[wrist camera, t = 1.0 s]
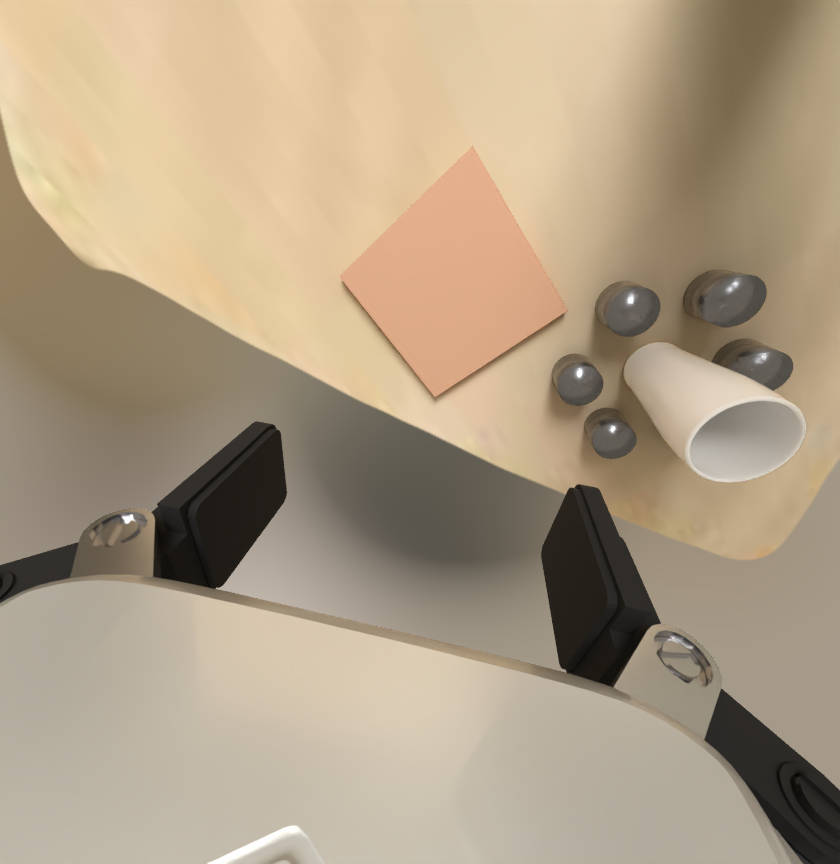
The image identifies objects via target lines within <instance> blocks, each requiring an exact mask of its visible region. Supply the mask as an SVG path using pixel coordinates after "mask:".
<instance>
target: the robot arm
mask: <svg viewBox="0 0 840 864" xmlns="http://www.w3.org/2000/svg"><path fill="white" fill-rule="evenodd" d="M286 494H287V491H286V480H285V471H284V461H283V451H282V441H281V433H280V431H279V430H276V427H275V426H274V425H273V424H268V423H263V422H254V423H252V424H251V425H250V426H249V427H248V428H247V429H245V430H244V431H243V432H242V433H241V434H239V435H238V436H237V437H236V438H235V439H233V440H232V441H231V442H230V443H229V444H228V445H226V446H225V447H224V448H223V449H222V450H220V451H219V452H218V453H217V454H216V455H214V456H213V457H212V458H211V459H210V460H209V461H208V462H206V463H205V464H204V465H203V466H201V467H200V468H199V469H198V470H197V471H196V472H195V473H193V474H192V475H191V476H190V477H188V478H187V479H186V480H185V481H184V482H182V483H181V484H180V485H179V486H178V487H177V488H175V489H174V490H173V491H172V492H171V493H169V494H168V495H167V496H166V497H165V498H164V499H162V500H161V501H160V502H159V503H158V504H157V505H158V507H157V508H156V509H155V510H154V511H152V512H150V511H149V510H146V509H142V508H128V509H122V510H118V511H115V512H112V513H109V514H107V515H105V516H102V517H100V518H99V519H97V520H96V521H94V522H93V523H91V524H90V525H89V526H88V527H87V528H86V529H85V530H84V531H83V533H82V535H81V537H80V539H79V542H78V543H74V544H71V545H67V546H65V547H61V548H57V549H54V550H50V551H47V552H44V553H41V554H37V555H34V556H30V557H27V558H23V559H20V560H17V561H13V562H10V563H6V564H3V565H0V864H840V790H839V789H838V788H837V787H835V785H834V784H832V783H831V782H830V781H829V780H828V779H827V778H826V777H825V776H824V775H823V774H822V773H821V772H819V771H818V770H817V769H816V768H815V767H814V766H812V765H811V764H810V763H808V761H806V760H805V759H804V758H803V757H802V756H801V755H799V754H798V753H797V752H796V751H795V750H793V749H792V748H791V747H790V746H789V745H787V744H786V743H785V742H784V741H783V740H782V739H780V738H779V737H778V736H777V735H776V734H774V733H773V732H772V731H771V730H770V729H769V728H767V727H766V726H765V725H764V724H763V723H762V722H760V721H759V720H758V719H757V718H755V717H754V716H753V715H752V714H751V713H750V712H749V711H747V710H746V709H745V708H744V707H743V706H741V705H740V704H739V703H738V702H737V701H735V700H734V699H733V698H732V697H731V696H730V695H728V694H727V693H726V692H725V691H723V689H721V685H722V677H721V674H720V670H719V667H718V666H717V664H716V662H715V661H714V659H713V657H712V656H711V655H710V654H709V652H708V651H707V650H706V649H705V648H704V647H703V645H701V644H700V643H699V642H698V641H697V640H696V639H694V638H693V637H692V636H690V635H689V634H687V633H686V632H684V631H682V630H681V629H678V628H676V627H673V626H671V625H666V624H661V623H660V620H659V618H658V616H657V613H656V611H655V609H654V607H653V604H652V602H651V600H650V598H649V595H648V593H647V591H646V589H645V586H644V584H643V582H642V580H641V578H640V575H639V573H638V571H637V568H636V566H635V564H634V561H633V559H632V557H631V555H630V552H629V550H628V548H627V546H626V543H625V542H624V540H623V539H622V538H621V537H620V536H619V534H618V532H617V529H616V527H615V525H614V522H613V520H612V518H611V515H610V513H609V511H608V508H607V506H606V504H605V501H604V499H603V497H602V494H601V492H600V490H599V489H598V488H595V487H590V486H585V485H580V484H579V485H577V486H575V488H569V490H568V491H567V494H566V496H565V498H564V500H563V503H562V505H561V507H560V509H559V511H558V513H557V516H556V518H555V520H554V522H553V524H552V527H551V529H550V531H549V534H548V536H547V538H546V540H545V542H544V544H543V547H542V552H541V557H542V564H543V570H544V575H545V582H546V587H547V593H548V599H549V605H550V611H551V617H552V623H553V629H554V635H555V640H556V647H557V653H558V659H559V664H560V666H561V668H562V669H565V670H566V671H567V673H565V672H561V671H556V670H553V669H549V668H545V667H541V666H538V665H534V664H530V663H526V662H522V661H518V660H514V659H511V658H506V657H502V656H498V655H494V654H490V653H486V652H482V651H477V650H473V649H469V648H465V647H461V646H457V645H453V644H448V643H444V642H440V641H436V640H432V639H428V638H423V637H420V636H415V635H411V634H407V633H403V632H398V631H394V630H390V629H386V628H382V627H377V626H373V625H369V624H364V623H360V622H356V621H352V620H348V619H343V618H339V617H334V616H330V615H326V614H322V613H317V612H314V611H309V610H304V609H300V608H296V607H291V606H287V605H283V604H279V603H274V602H270V601H266V600H261V599H257V598H253V597H248V596H244V595H239V594H235V593H231V592H226V591H222V590H217V589H216V587H217V588H219V587H221V586H223V584H224V583H225V582H226V581H227V579H228V578H229V576H230V575H231V574H232V573H233V571H234V570H235V568H236V567H237V566H238V564H239V563H240V561H241V560H242V559H243V558H244V556H245V555H246V553H247V552H248V551H249V549H250V548H251V547H252V545H253V544H254V542H255V541H256V540H257V538H258V537H259V536H260V534H261V533H262V531H263V530H264V529H265V527H266V526H267V525H268V523H269V522H270V521H271V519H272V518H273V517H274V515H275V514H276V512H277V511H278V510H279V508H280V507H281V505H282V504H283V503H284V501H285V498H286Z"/></svg>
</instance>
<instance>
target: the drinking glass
mask: <svg viewBox="0 0 840 864" xmlns="http://www.w3.org/2000/svg"><path fill="white" fill-rule="evenodd" d="M623 373H624V379H625V382H626V384H627V385H628V386H629V387H630V389H631V390H632V391H633V392H634V394H635V395H636V397H637V398H638V400H639V401H640V403H641V404H642V406H643V408H644V409H645V411H646V412H647V414H648V416H649V417H650V419H651V420H652V422H653V424H654V425H655V427H656V428H657V430H658V431H659V433H660V435H661V436H662V437H663V439H664V440H665V441H666V443H667V444H668V445H669V446H670V448H671V449H672V450H673V451H674V452H675V453H676V455H677V456H678V457H679V458H680V459H681V460H682V461H683V462H684V463H685V464H686V465H687V466H688V467H689V468H690V469H691V470H692V471H693V472H694V473H695V474H697V475H698V476H700V477H702V478H704V479H707V480H710V481H714V482H722V483H735V482H743V481H748V480H752V479H755V478H758V477H761V476H764V475H766V474H768V473H770V472H772V471H774V470H776V469H777V468H779V467H780V466H782V465H783V464H785V463H786V462H787V461H788V460H789V459H791V458H792V457H793V455H794V454H795V453H796V452H797V451H798V450H799V448H800V447H801V445H802V443H803V441H804V438H805V435H806V429H807V425H806V420H805V417H804V415H803V413H802V412H801V410H800V409H799V408H798V407H797V406H796V405H794V404H793V403H791V402H789V401H788V400H786V399H785V398H783V397H782V396H780V395H779V394H777V393H776V392H774V391H773V390H771V389H769V388H768V387H766V386H764V385H762V384H761V383H759V382H757V381H755V380H753V379H751V378H749V377H747V376H745V375H742V374H740V373H738V372H735V371H733V370H730V369H728V368H725V367H723V366H720V365H718V364H715V363H713V362H710V361H708V360H706V359H703V358H701V357H698V356H696V355H693V354H691V353H689V352H686V351H684V350H682V349H680V348H678V347H677V346H675V345H673V344H670V343H666V342H654V343H650V344H647V345H644V346H642V347H640V348H639V349H637V350H636V351H635V352H634V353H633V354H632V355H631V356H630V357H629V358H628V360H627V362H626V364H625V366H624V372H623Z"/></svg>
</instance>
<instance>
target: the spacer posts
mask: <svg viewBox="0 0 840 864" xmlns="http://www.w3.org/2000/svg"><path fill="white" fill-rule="evenodd" d="M765 298H766V286H765V284H764V282H763V281H762V280H761V279H760V278H758V277H756V276H752V275H746V274H741V273H735V272H729V271H723V270H713V271H709V272H706V273H704V274H702V275H700V276H699V277H697V278H696V279H695V280H694V281H693V282H692V283H691V284H690V285H689V287H688V288H687V290H686V292H685V295H684V299H683V303H684V307H685V309H686V311H687V312H688V313H689V314H691V315H693V316H695V317H698V318H700V319H703V320H705V321H707V322H710V323H712V324H715V325H717V326H720V327H733V326H737V325H739V324H742V323H744V322H746V321H747V320H749V319H750V318H752V317H753V316H754V315H755V314H756V313H757V312H758V311H759V310H760V308H761V307H762V305H763V303H764V301H765ZM595 310H596V315H597V317H598V319H599V320H600V321H601V322H602V323H603V324H605V325H606V326H607V327H608V328H610V329H611V330H612V331H614V332H615V333H616V334H618V335H621V336H626V337H628V336H635V335H638V334H641V333H643V332H644V331H646V330H647V329H649V328H650V327H651V326H652V325H653V324H654V322H655V321H656V319H657V317H658V315H659V312H660V301H659V298H658V296H657V295H656V294H655V293H654V292H653V291H651V290H649V289H646V288H644V287H641V286H638V285H635V284H633V283H630V282H618V283H615V284H612V285H610V286H609V287H607V288H606V289H605V290H604V291H603V292H602V293H601V294H600V296H599V298H598V300H597V302H596V307H595ZM713 363H715V364H718V365H720V366H723V367H725V368H728V369H730V370H733V371H735V372H738V373H740V374H742V375H745V376H747V377H749V378H751V379H753V380H755V381H757V382H759V383H761V384H762V385H764V386H766V387H768V388H769V389H771V390H773V391H774V390H775V389H777V388H779V387H780V386H781V385H783V384H784V383H785V382H786V381H787V380H788V378H789V377H790V375H791V373H792V370H793V362H792V359H791V358H790V357H789V356H788V355H786V354H784V353H782V352H780V351H777V350H775V349H772V348H770V347H768V346H765V345H763V344H760V343H758V342H755V341H753V340H750V339H740V340H736V341H733V342H730V343H728V344H727V345H725V346H724V347H722V348H721V349H720V350H719V351H718V352H717V354H716V355H715V357H714V359H713ZM552 379H553V381H554V384H555V386H556V388H557V390H558V392H559V395H560V397H561V398H562V399H563V400H564V401H565V402H566V403H568V404H570V405H575V406H580V405H585V404H588V403H590V402H592V401H593V400H595V399H596V398H597V397H598V396H599V394H600V393H601V391H602V388H603V379H602V376H601V375H600V373H599V372H598V371H597V370H596V368H595V367H594V366H593V365H592V363H591V362H590V361H589V360H588V359H587V358H586V357H585V356H583V355H579V354H570V355H567V356H564V357H563V358H561V359H560V360H559V361H558V362H557V363H556V364H555V366H554V367H553V370H552ZM584 428H585V431H586V433H587V435H588V437H589V439H590V441H591V443H592V445H593V447H594V449H595V451H596V452H597V454H599V455H600V456H602V457H604V458H609V459H614V458H620V457H622V456H625V455H626V454H628V453H629V452H630V451H631V450H632V449H633V448H634V446H635V444H636V435H635V433H634V432H633V430H632V429H631V428H630V426H629V425H628V423H627V422H626V421H625V419H624V418H623V417H622V415H621V414H620V413H619V412H618V411H616V410H614V409H611V408H603V409H599V410H596V411H594V412H593V413H591V414H590V415H589V416H588V417H587V419H586V421H585V425H584Z"/></svg>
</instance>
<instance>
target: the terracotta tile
mask: <svg viewBox="0 0 840 864" xmlns="http://www.w3.org/2000/svg"><path fill="white" fill-rule="evenodd" d="M339 277H340V278H341V279H342V281H343V282H344V283H345V285H346V286H347V287H348V288H349V290H350V291H351V292H352V293H353V295H354V296H355V297H356V298H357V300H358V301H359V302H360V303H361V305H362V306H363V307H364V309H365V310H366V311H367V312H368V314H369V315H370V316H371V317H372V319H373V320H374V321H375V322H376V324H377V325H378V326H379V327H380V329H381V330H382V331H383V332H384V334H385V335H386V336H387V338H388V339H389V340H390V341H391V343H392V344H393V345H394V346H395V348H396V349H397V350H398V351H399V353H400V354H401V355H402V356H403V358H404V359H405V360H406V361H407V363H408V364H409V365H410V367H411V368H412V369H413V370H414V372H415V373H416V374H417V375H418V377H419V378H420V379H421V380H422V382H423V383H424V384H425V385H426V387H427V388H428V389H429V391H430V392H431V393H432V394H433V396H434V397H436V396H438V395H439V394H441V393H442V392H444V391H445V390H447V389H448V388H450V387H451V386H453V385H454V384H456V383H458V382H459V381H461V380H462V379H464V378H465V377H467V376H468V375H470V374H471V373H473V372H474V371H476V370H477V369H479V368H481V367H482V366H484V365H485V364H487V363H488V362H490V361H491V360H493V359H494V358H496V357H497V356H499V355H500V354H502V353H504V352H505V351H507V350H508V349H510V348H511V347H513V346H514V345H516V344H517V343H519V342H520V341H522V340H524V339H525V338H527V337H528V336H530V335H531V334H533V333H534V332H536V331H537V330H539V329H540V328H542V327H543V326H545V325H547V324H548V323H550V322H551V321H553V320H554V319H556V318H557V317H559V316H560V315H562V314H563V313H565V312H566V311H568V310H567V309H566V307H565V305H564V303H563V302H562V300H561V298H560V296H559V295H558V293H557V291H556V289H555V288H554V286H553V284H552V283H551V281H550V279H549V277H548V276H547V274H546V272H545V270H544V269H543V267H542V265H541V264H540V262H539V260H538V258H537V257H536V255H535V253H534V251H533V250H532V248H531V246H530V244H529V243H528V241H527V239H526V238H525V236H524V234H523V232H522V231H521V229H520V227H519V225H518V224H517V222H516V220H515V218H514V217H513V215H512V213H511V212H510V210H509V208H508V206H507V205H506V203H505V201H504V199H503V198H502V196H501V194H500V192H499V191H498V189H497V187H496V186H495V184H494V182H493V180H492V179H491V177H490V175H489V173H488V172H487V170H486V168H485V166H484V165H483V163H482V161H481V160H480V158H479V156H478V154H477V153H476V151H475V149H474V147H473V146H472V147H471V148H470V149H469V150H468V151H467V152H466V153H465V154H464V155H463V156H462V157H461V158H460V159H459V160H458V161H457V162H456V163H455V164H454V165H453V166H452V167H451V168H450V169H449V170H448V171H447V172H446V173H445V174H444V175H442V176H441V177H440V178H439V179H438V180H437V181H436V182H435V183H434V184H433V185H432V186H431V187H430V188H429V189H428V190H427V191H426V192H425V193H424V194H423V195H422V196H421V197H420V198H419V199H418V200H417V201H416V202H415V203H414V204H413V205H412V206H411V207H410V208H409V209H408V210H407V211H406V212H405V213H404V214H403V215H402V216H401V217H400V218H399V219H398V220H397V221H396V222H394V223H393V224H392V225H391V226H390V227H389V228H388V229H387V230H386V231H385V232H384V233H383V234H382V235H381V236H380V237H379V238H378V239H377V240H376V241H375V242H374V243H373V244H372V245H371V246H370V247H369V248H368V249H367V250H366V251H365V252H364V253H363V254H362V255H361V256H360V257H359V258H358V259H357V260H356V261H355V262H354V263H353V264H352V265H351V266H350V267H349V268H348V269H346V270H345V271H344V272H343V273H342V274H341V275H340V276H339Z"/></svg>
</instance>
